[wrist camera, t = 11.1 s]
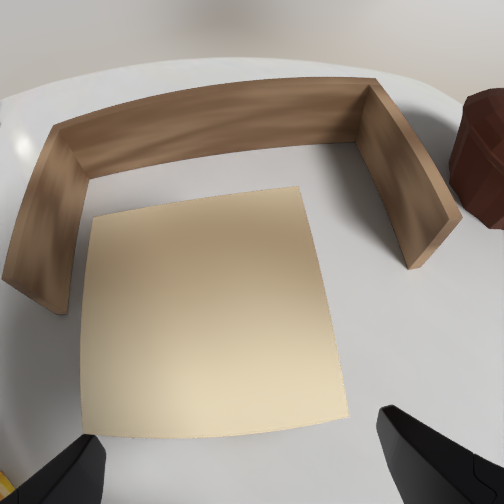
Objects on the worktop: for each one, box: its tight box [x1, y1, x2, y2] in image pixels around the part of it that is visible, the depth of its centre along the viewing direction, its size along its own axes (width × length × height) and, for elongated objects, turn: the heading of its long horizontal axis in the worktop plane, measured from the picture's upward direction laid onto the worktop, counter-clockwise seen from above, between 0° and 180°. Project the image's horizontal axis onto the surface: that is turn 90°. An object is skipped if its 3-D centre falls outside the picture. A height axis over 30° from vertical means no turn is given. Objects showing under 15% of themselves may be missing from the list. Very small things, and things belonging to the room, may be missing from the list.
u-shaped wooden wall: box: [2, 77, 463, 314], centre depth 19 cm, size 13×25×6 cm, turn 97°
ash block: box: [80, 186, 349, 439], centre depth 11 cm, size 5×5×12 cm
